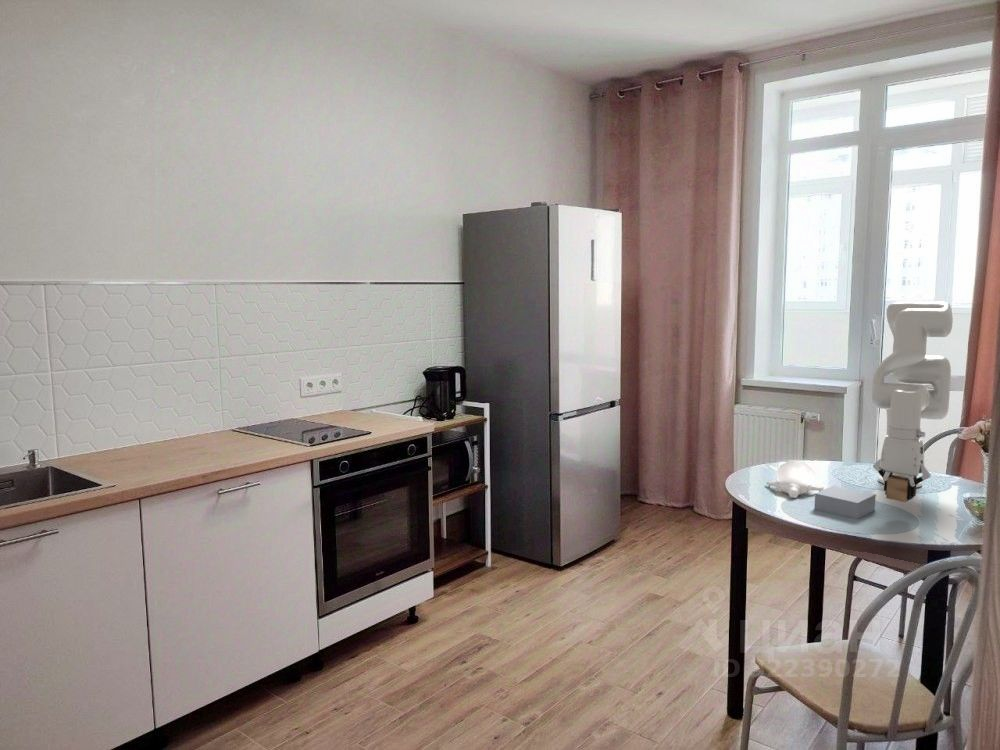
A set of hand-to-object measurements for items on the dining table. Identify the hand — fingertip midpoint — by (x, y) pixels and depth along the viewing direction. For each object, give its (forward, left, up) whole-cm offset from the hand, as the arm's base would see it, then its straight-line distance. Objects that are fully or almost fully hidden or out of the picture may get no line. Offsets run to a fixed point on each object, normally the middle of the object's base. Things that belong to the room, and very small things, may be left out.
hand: (899, 495), depth 196 cm
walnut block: (0, 0, -1) cm, 1 cm away
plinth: (+5, -13, -6) cm, 15 cm away
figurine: (-5, -33, -7) cm, 34 cm away
